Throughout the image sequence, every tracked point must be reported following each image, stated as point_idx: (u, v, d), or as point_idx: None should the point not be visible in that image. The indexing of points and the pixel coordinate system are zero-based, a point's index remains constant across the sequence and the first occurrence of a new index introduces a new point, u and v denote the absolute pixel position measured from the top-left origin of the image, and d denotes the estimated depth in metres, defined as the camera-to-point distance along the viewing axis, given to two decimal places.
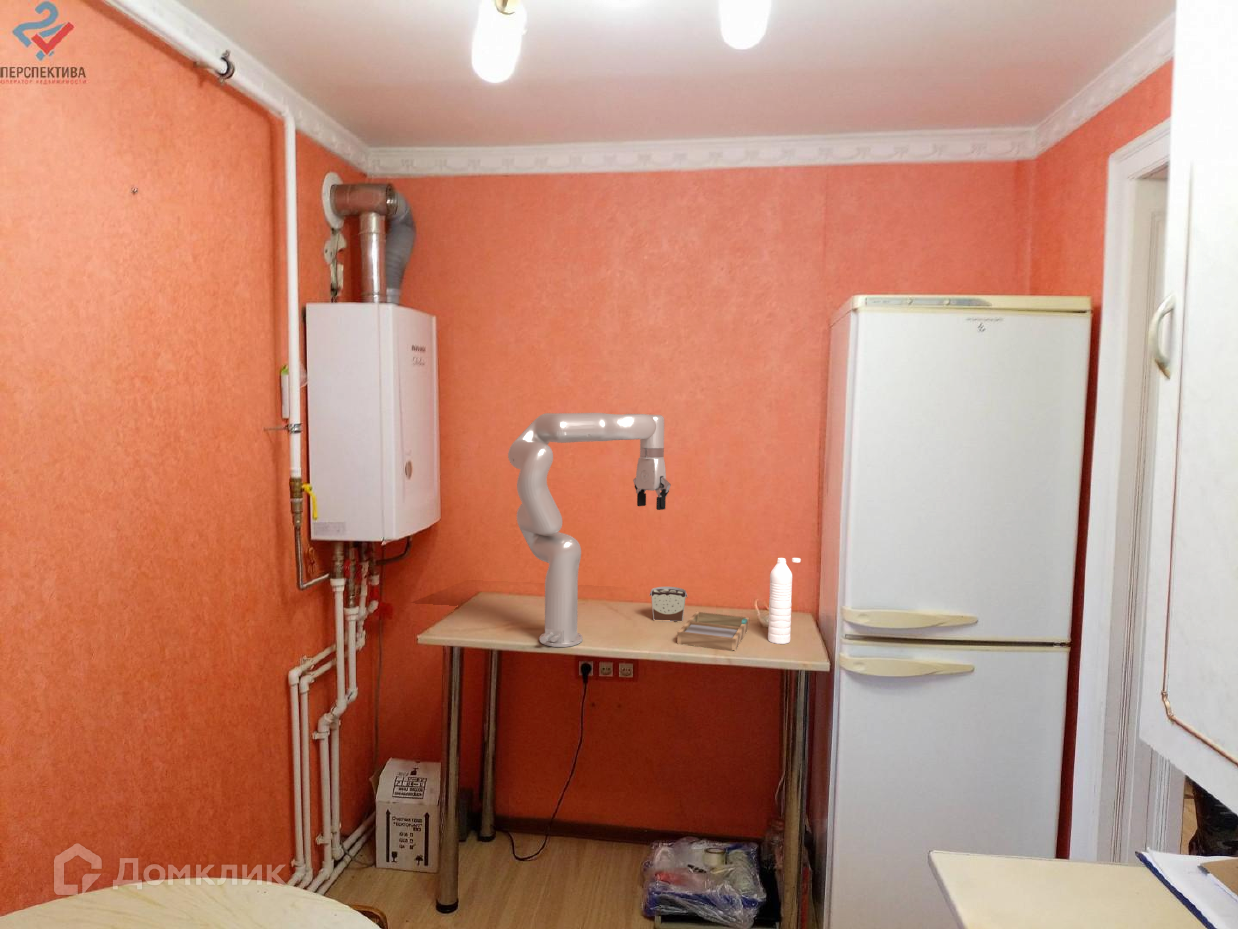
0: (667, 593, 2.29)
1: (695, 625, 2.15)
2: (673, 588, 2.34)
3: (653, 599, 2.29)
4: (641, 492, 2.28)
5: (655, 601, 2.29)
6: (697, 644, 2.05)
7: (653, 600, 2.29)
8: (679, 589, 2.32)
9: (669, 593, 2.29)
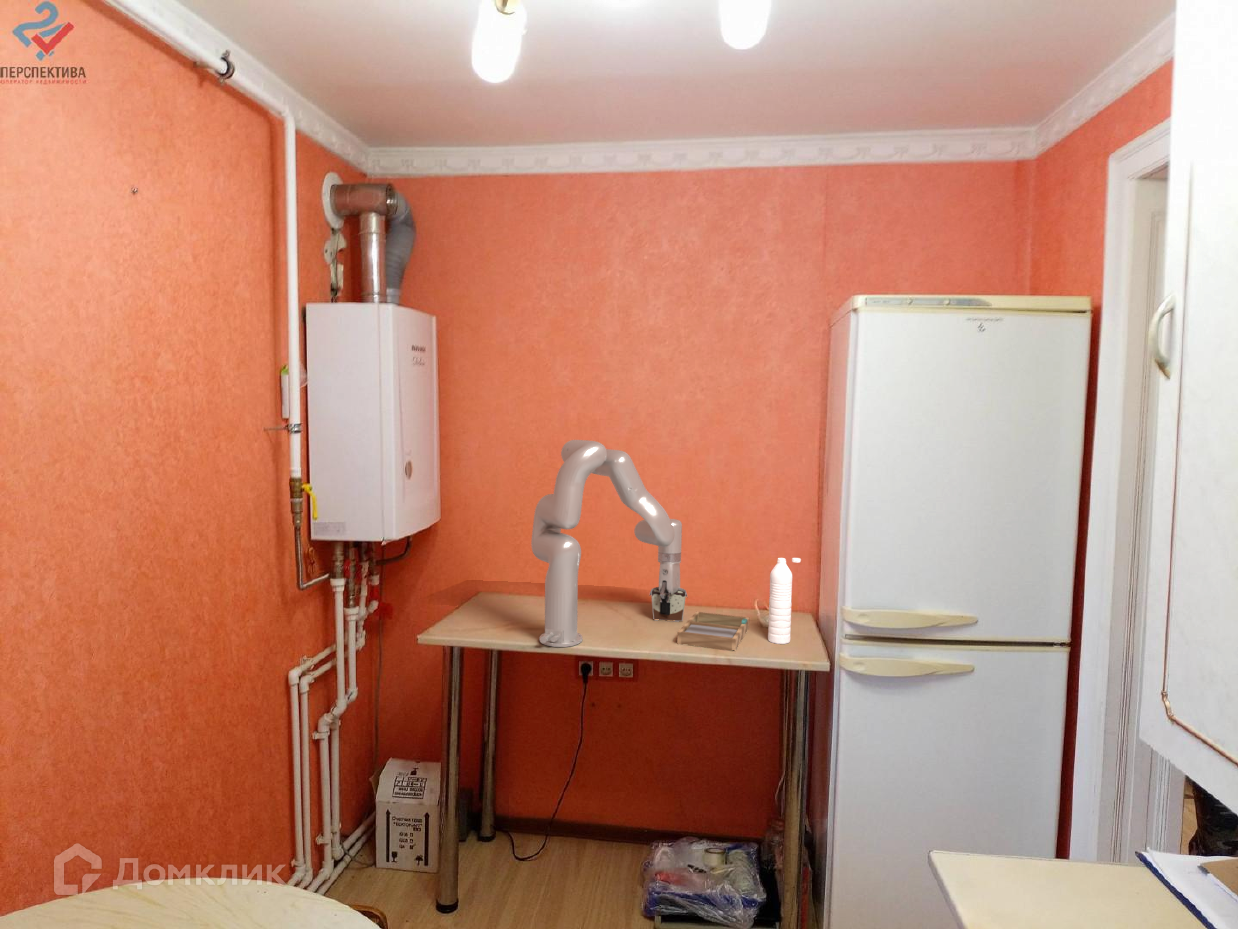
0: None
1: (695, 625, 2.15)
2: None
3: (653, 599, 2.30)
4: None
5: (655, 601, 2.30)
6: (697, 644, 2.05)
7: (653, 600, 2.30)
8: (679, 589, 2.33)
9: None
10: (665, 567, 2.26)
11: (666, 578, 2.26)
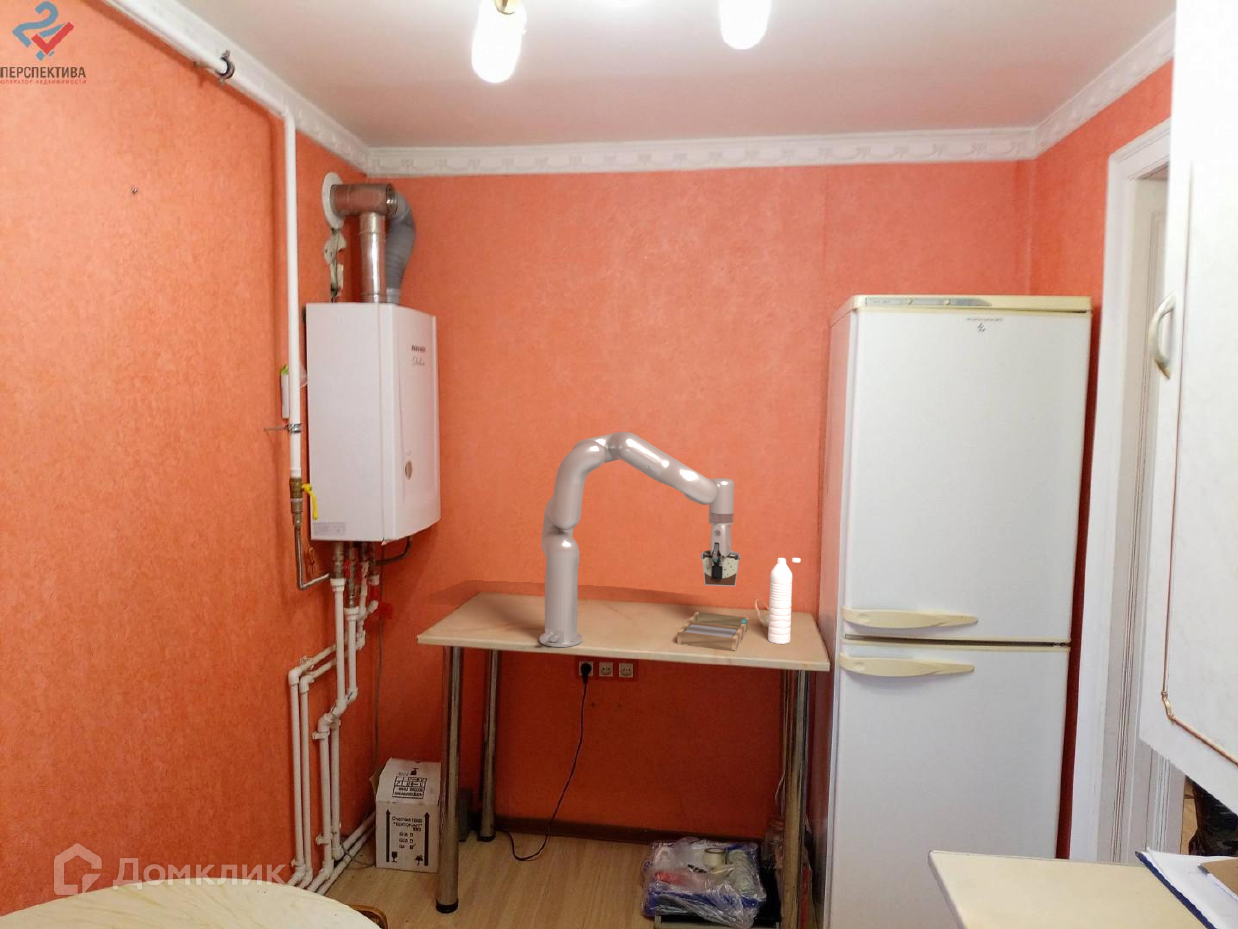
0: None
1: (695, 625, 2.15)
2: None
3: (704, 562, 2.17)
4: None
5: (706, 564, 2.17)
6: (697, 644, 2.05)
7: (704, 563, 2.17)
8: (731, 552, 2.20)
9: None
10: (717, 528, 2.13)
11: (719, 540, 2.13)
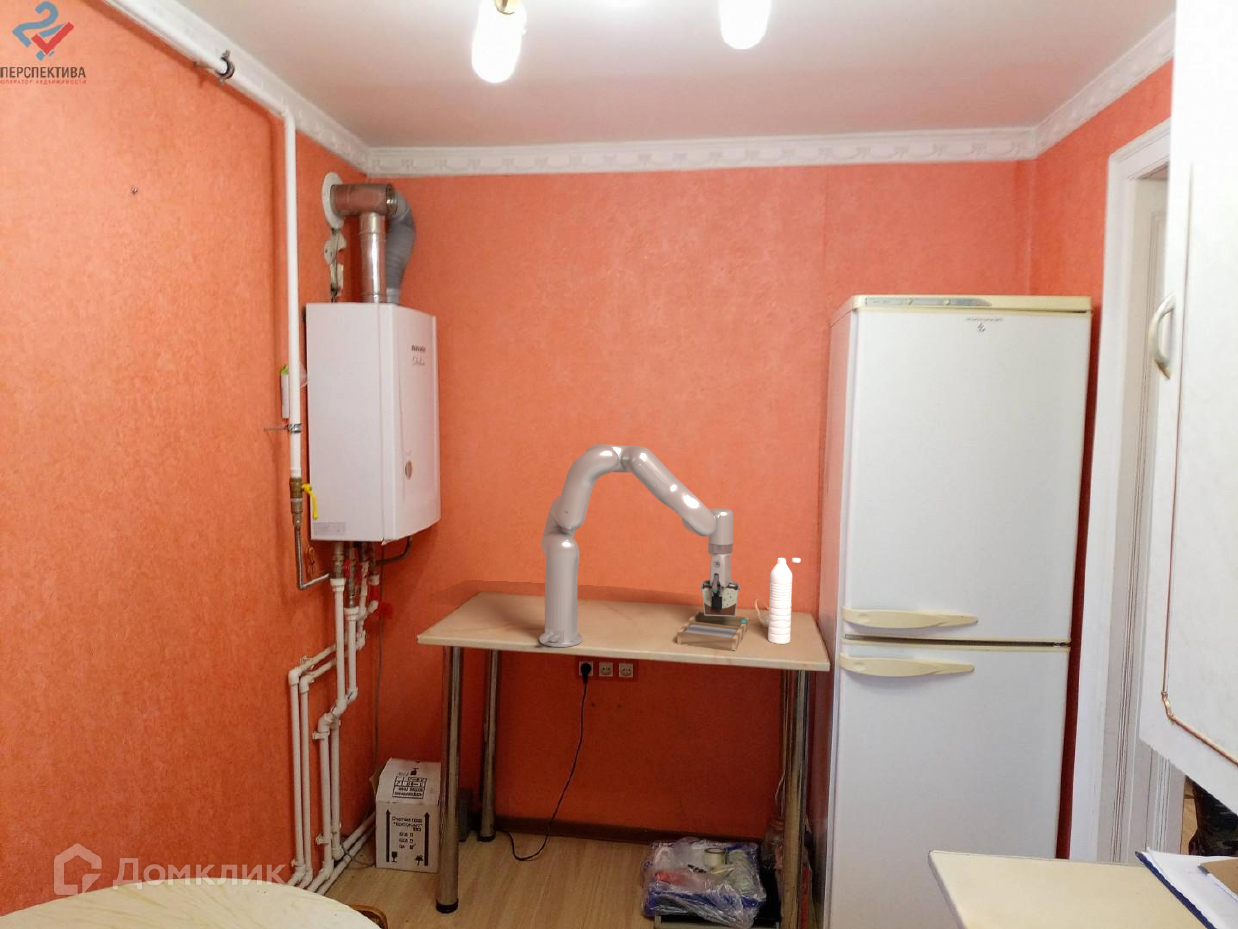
0: None
1: (695, 625, 2.15)
2: None
3: (704, 593, 2.18)
4: None
5: (706, 595, 2.17)
6: (697, 644, 2.05)
7: (704, 594, 2.18)
8: (731, 582, 2.20)
9: None
10: (717, 559, 2.14)
11: (718, 571, 2.14)
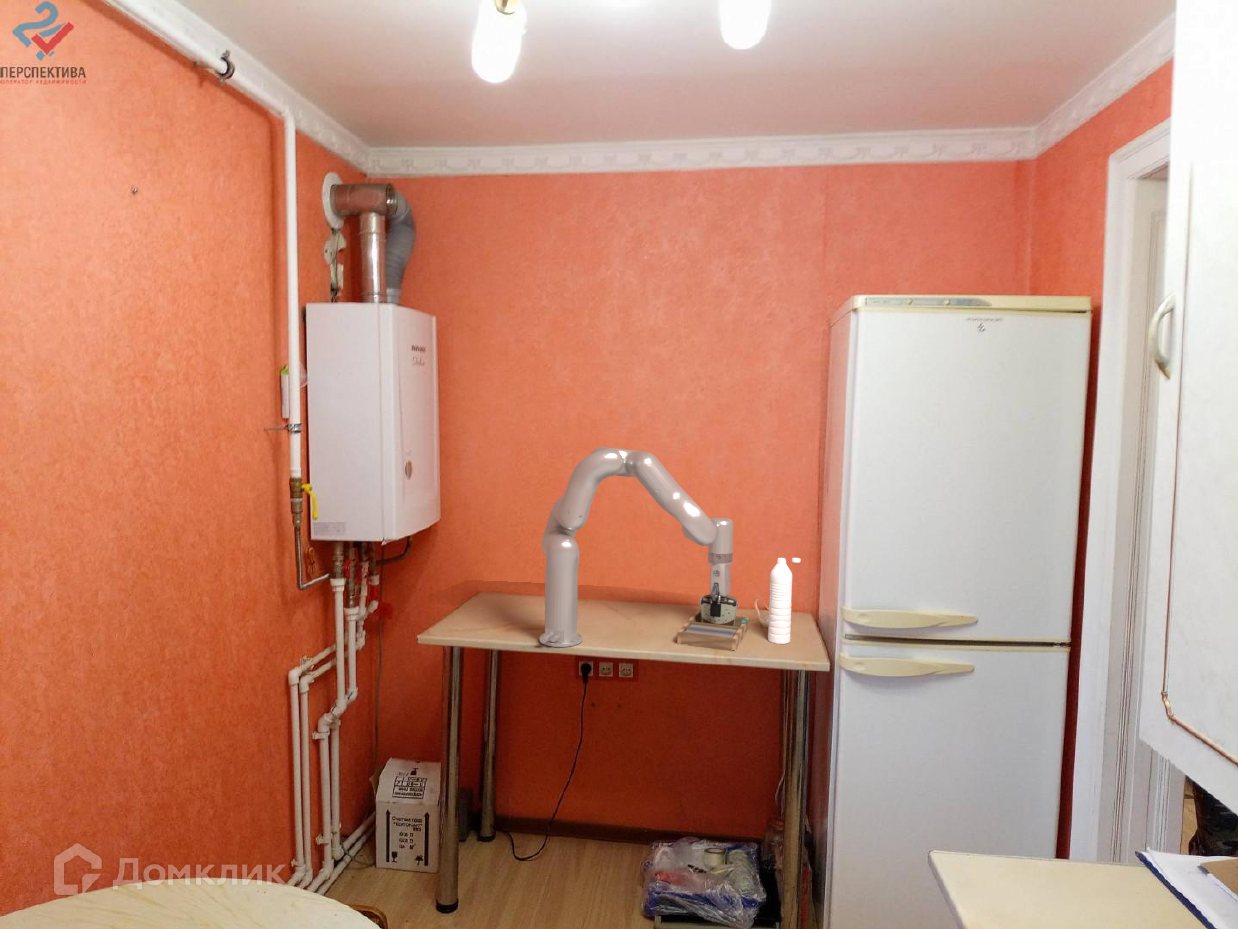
0: None
1: (695, 625, 2.15)
2: None
3: (702, 608, 2.19)
4: None
5: (704, 610, 2.19)
6: (697, 644, 2.05)
7: (702, 609, 2.19)
8: (730, 597, 2.21)
9: None
10: (717, 568, 2.14)
11: (718, 580, 2.14)
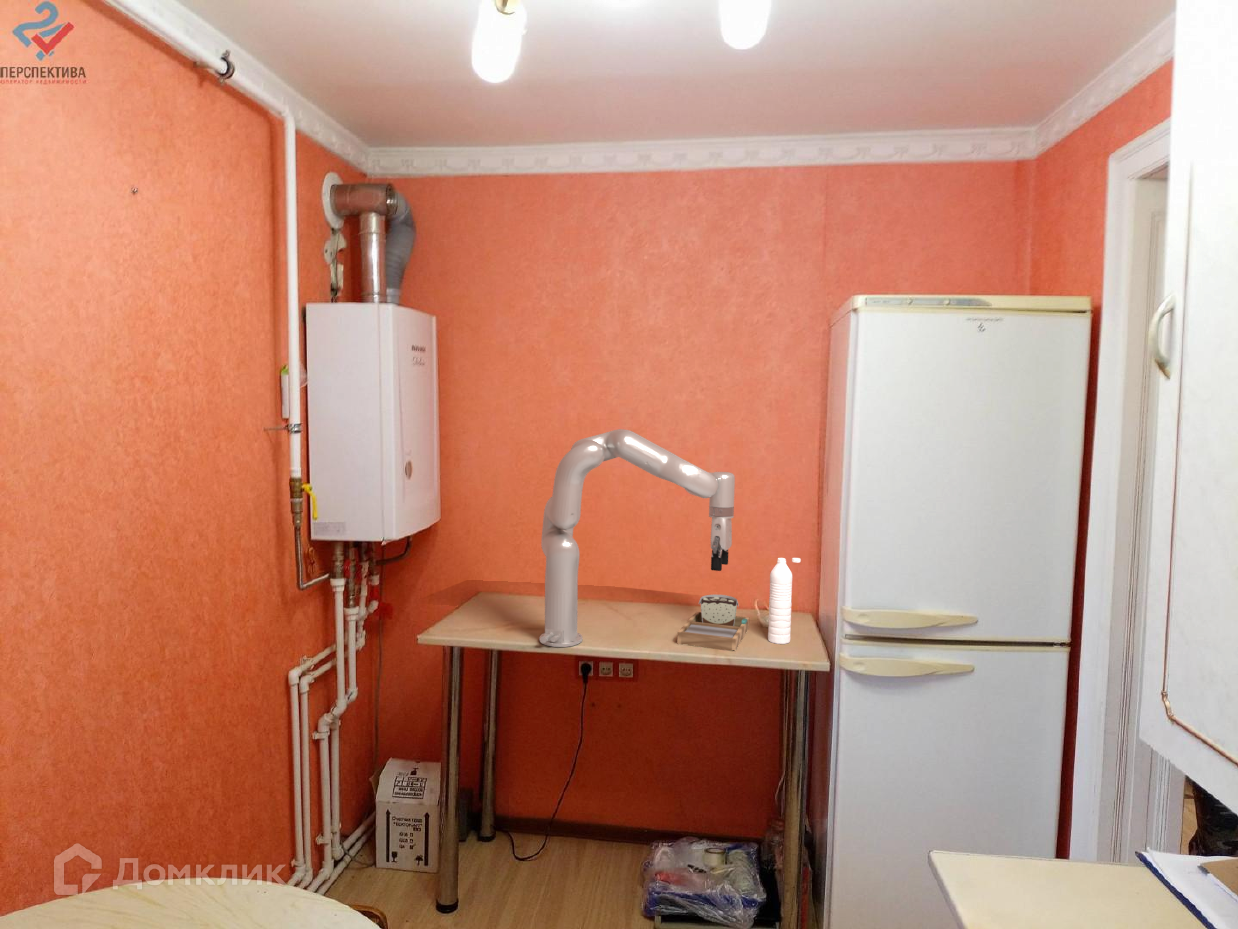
0: (717, 601, 2.19)
1: (695, 625, 2.15)
2: (724, 596, 2.23)
3: (702, 607, 2.20)
4: None
5: (704, 610, 2.20)
6: (697, 644, 2.05)
7: (702, 608, 2.20)
8: (730, 597, 2.22)
9: (719, 601, 2.19)
10: (718, 522, 2.13)
11: (719, 533, 2.13)
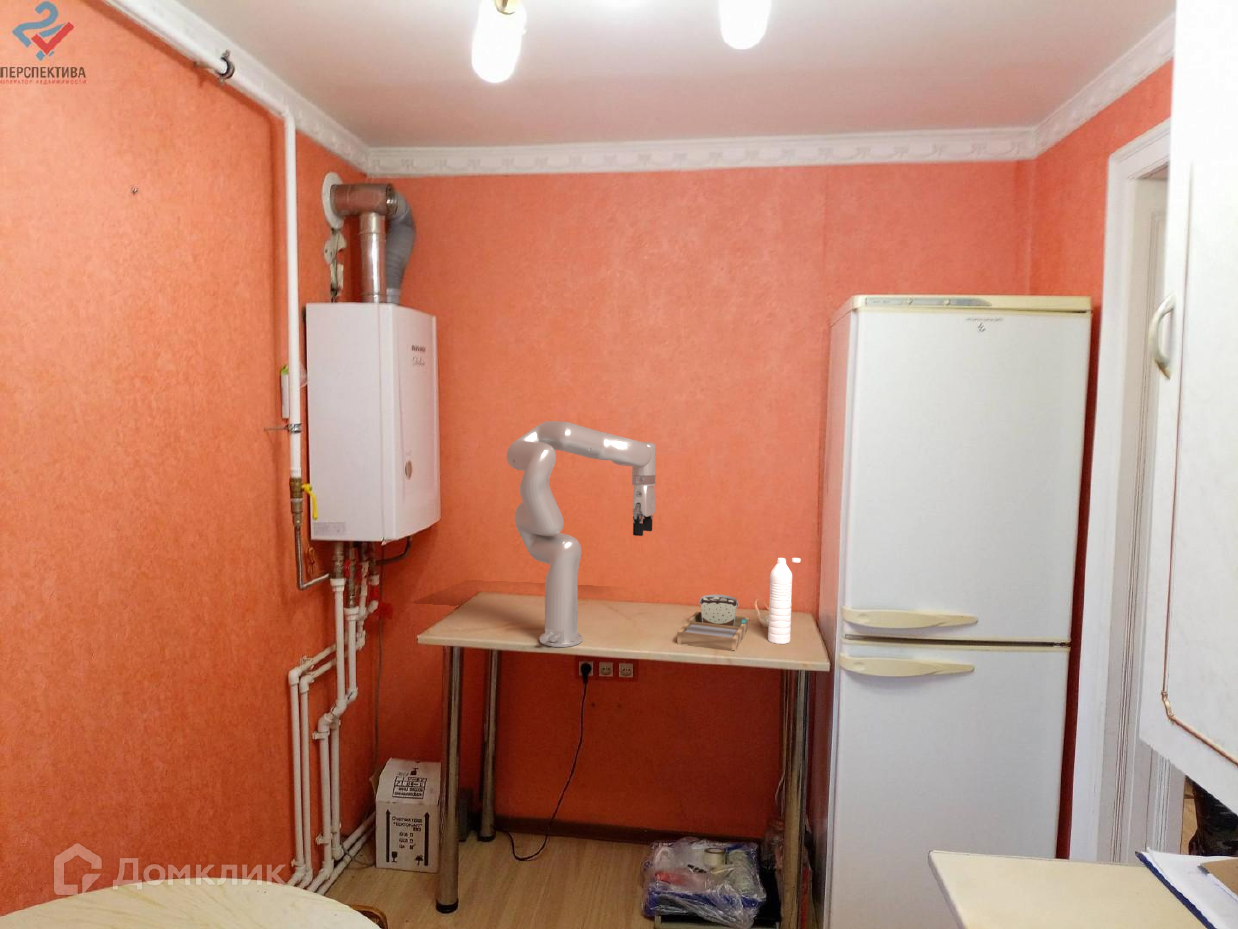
0: (717, 601, 2.19)
1: (695, 625, 2.15)
2: (724, 596, 2.23)
3: (702, 607, 2.20)
4: None
5: (704, 610, 2.20)
6: (697, 644, 2.05)
7: (702, 608, 2.20)
8: (730, 597, 2.22)
9: (719, 601, 2.19)
10: (639, 489, 2.24)
11: (640, 500, 2.24)
